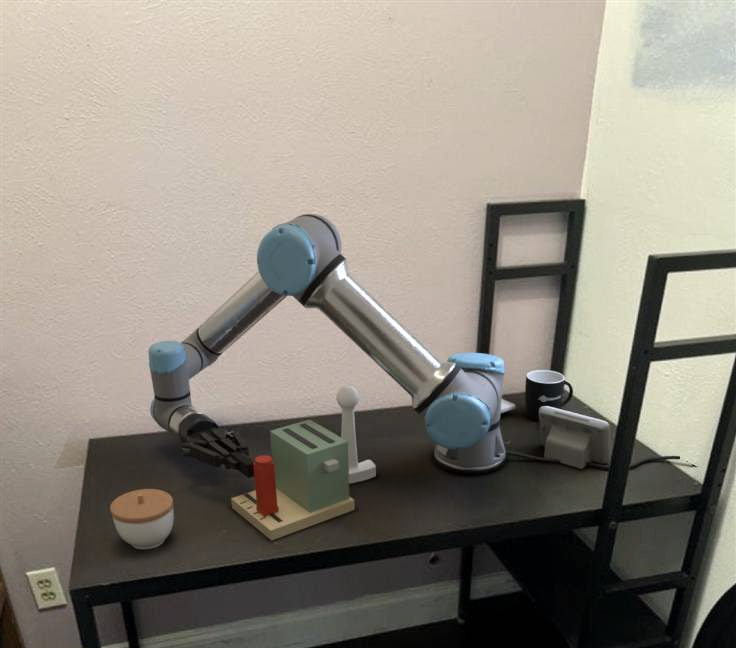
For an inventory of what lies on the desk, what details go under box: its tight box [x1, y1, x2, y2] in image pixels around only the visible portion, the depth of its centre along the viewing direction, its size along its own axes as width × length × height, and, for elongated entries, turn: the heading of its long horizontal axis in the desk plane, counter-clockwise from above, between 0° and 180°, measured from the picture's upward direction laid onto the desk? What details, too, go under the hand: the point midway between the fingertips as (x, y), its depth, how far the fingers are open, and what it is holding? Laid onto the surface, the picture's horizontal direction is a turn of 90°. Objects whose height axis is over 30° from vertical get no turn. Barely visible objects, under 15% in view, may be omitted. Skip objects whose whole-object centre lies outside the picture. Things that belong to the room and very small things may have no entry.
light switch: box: [501, 398, 517, 414], centre depth 189 cm, size 10×10×5 cm
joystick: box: [335, 385, 377, 484], centre depth 158 cm, size 11×8×20 cm
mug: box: [524, 369, 574, 422], centre depth 186 cm, size 12×9×10 cm
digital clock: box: [538, 406, 611, 470], centre depth 166 cm, size 16×9×11 cm, turn 39°
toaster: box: [230, 419, 356, 541], centre depth 146 cm, size 16×18×14 cm
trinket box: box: [109, 488, 175, 550], centre depth 138 cm, size 11×11×9 cm
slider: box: [253, 454, 279, 516], centre depth 142 cm, size 3×3×11 cm
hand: (251, 470), depth 146 cm, fingers closed
